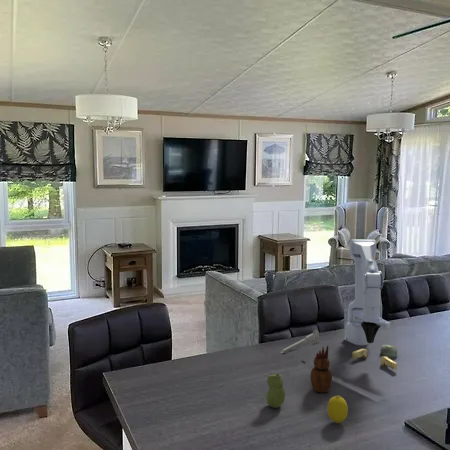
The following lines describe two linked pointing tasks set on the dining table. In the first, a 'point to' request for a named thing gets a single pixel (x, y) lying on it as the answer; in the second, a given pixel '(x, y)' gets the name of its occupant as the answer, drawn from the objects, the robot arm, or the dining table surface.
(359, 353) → the knob
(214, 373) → the dining table surface
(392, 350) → the base
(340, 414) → the lemon
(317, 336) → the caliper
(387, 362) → the knob
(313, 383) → the wooden figurine
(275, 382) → the pear
